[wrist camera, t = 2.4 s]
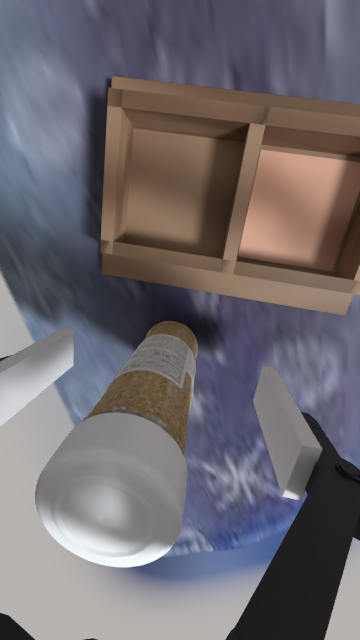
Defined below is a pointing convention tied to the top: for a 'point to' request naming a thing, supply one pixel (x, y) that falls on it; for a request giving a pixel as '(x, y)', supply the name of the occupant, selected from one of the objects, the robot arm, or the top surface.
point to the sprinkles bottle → (126, 459)
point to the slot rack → (233, 193)
